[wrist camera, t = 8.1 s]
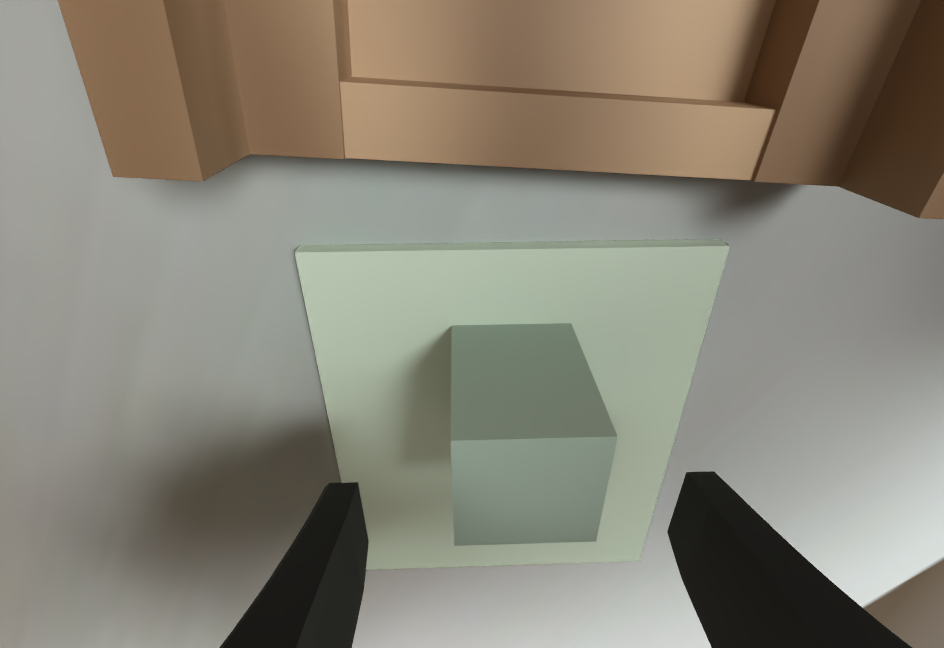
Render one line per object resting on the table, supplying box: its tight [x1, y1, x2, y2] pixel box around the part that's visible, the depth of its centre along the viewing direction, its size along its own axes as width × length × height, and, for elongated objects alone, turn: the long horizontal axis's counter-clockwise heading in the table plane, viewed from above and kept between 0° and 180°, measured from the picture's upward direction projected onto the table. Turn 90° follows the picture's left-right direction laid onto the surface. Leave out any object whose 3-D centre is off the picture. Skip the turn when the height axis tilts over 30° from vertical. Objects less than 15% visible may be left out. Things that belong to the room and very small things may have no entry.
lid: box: [295, 239, 730, 570], centre depth 13 cm, size 10×12×5 cm
